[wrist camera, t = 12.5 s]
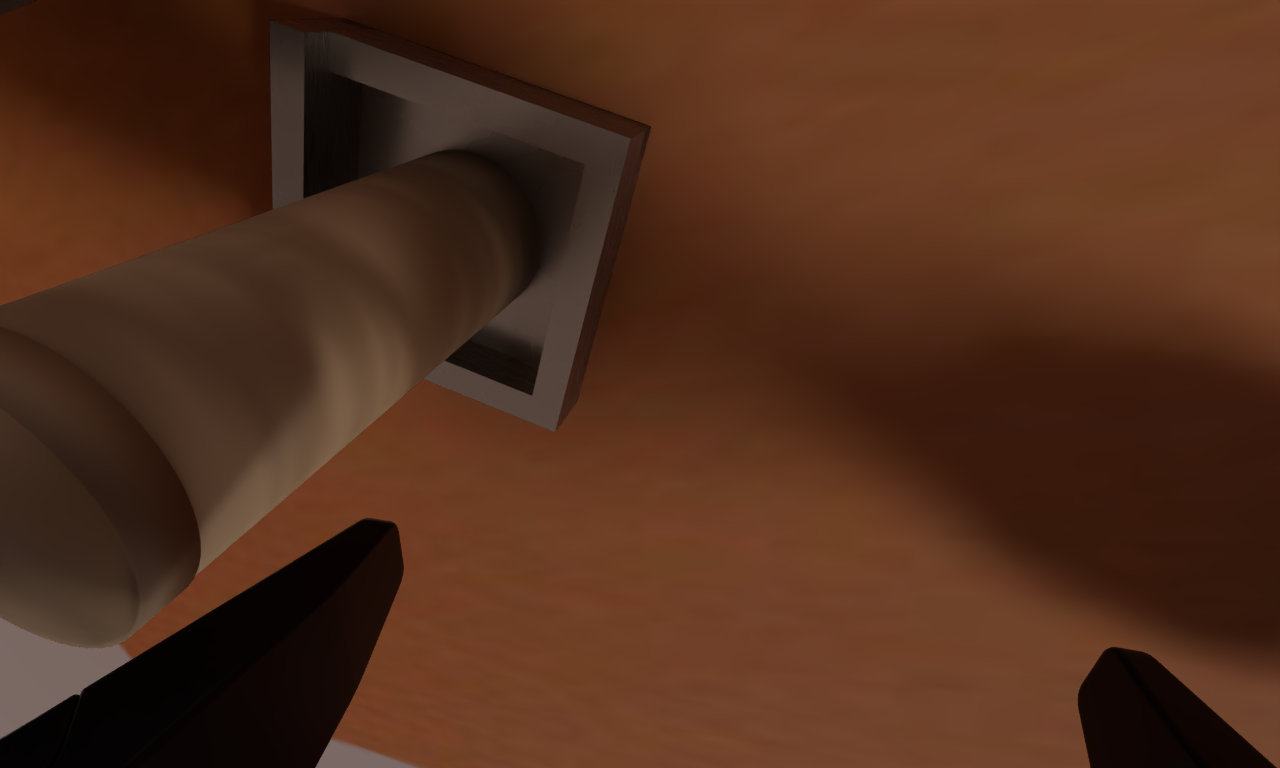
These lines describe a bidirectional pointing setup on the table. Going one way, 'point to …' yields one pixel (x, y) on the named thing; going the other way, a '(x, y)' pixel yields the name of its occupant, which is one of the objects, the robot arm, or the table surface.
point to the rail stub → (229, 380)
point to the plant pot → (12, 5)
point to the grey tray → (494, 129)
